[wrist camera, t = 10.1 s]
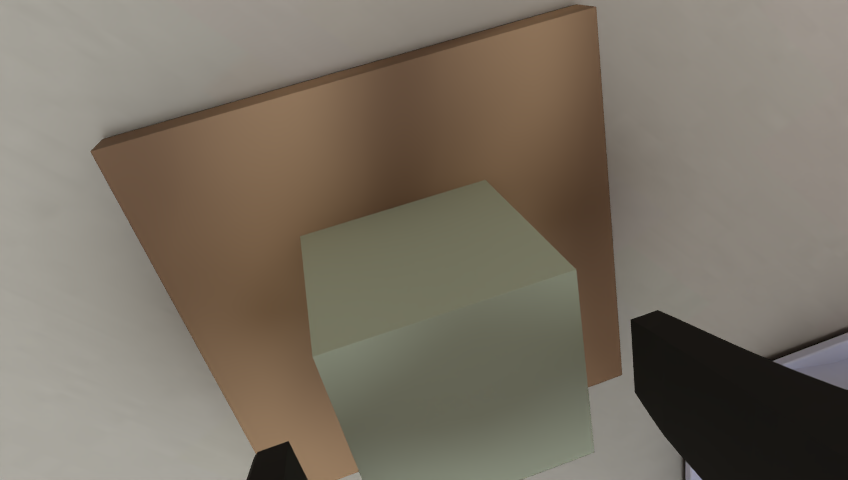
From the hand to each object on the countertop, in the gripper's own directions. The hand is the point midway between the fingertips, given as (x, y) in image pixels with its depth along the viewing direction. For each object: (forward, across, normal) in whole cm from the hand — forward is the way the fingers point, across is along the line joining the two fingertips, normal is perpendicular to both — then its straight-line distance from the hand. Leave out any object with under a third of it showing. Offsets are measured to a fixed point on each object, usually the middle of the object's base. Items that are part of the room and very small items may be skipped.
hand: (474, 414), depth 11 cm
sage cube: (+5, 0, 0) cm, 5 cm away
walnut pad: (+6, 0, 0) cm, 6 cm away
